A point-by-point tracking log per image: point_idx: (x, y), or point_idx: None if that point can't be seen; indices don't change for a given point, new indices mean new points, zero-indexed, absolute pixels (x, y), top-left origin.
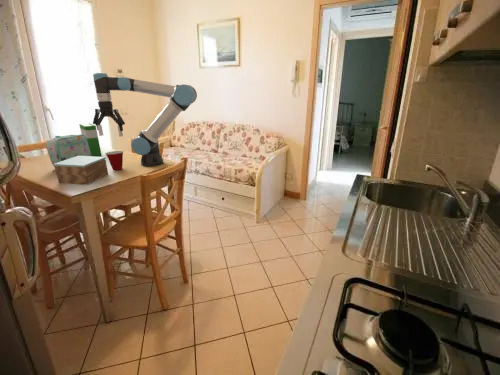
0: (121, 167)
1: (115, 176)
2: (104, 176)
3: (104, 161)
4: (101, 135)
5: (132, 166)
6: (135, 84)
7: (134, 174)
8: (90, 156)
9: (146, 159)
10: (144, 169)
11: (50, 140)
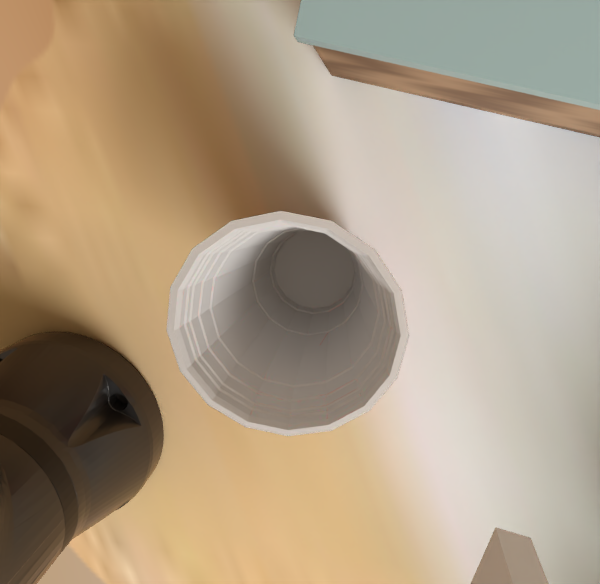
0: (265, 261)
1: (240, 15)
2: None
3: None
4: (481, 563)
5: None
6: None
7: (89, 80)
8: (560, 79)
9: (44, 371)
10: (69, 242)
11: None
